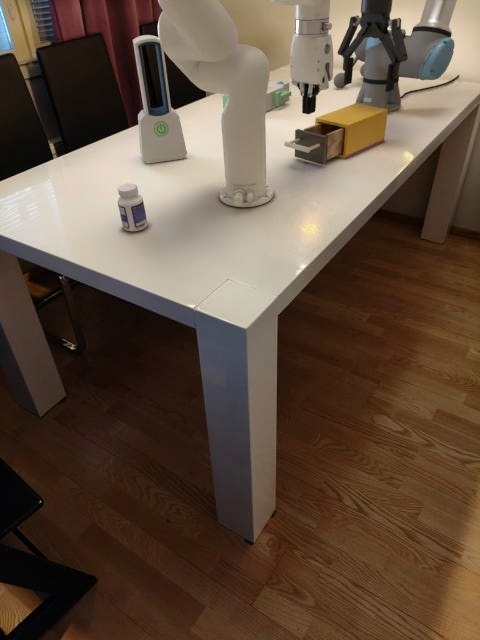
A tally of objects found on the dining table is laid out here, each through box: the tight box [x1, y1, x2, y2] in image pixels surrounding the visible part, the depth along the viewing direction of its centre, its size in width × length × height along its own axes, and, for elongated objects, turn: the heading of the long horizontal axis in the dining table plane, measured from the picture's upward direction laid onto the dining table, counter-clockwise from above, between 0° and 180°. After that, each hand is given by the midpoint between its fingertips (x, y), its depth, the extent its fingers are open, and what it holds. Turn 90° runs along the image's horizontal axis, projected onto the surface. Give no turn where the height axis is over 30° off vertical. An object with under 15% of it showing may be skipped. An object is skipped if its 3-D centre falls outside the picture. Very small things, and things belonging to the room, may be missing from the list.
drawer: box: [283, 122, 345, 166], centre depth 130 cm, size 22×10×7 cm, turn 134°
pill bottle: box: [117, 182, 148, 232], centre depth 102 cm, size 5×5×9 cm
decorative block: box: [221, 80, 292, 113], centre depth 175 cm, size 26×6×20 cm
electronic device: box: [132, 34, 188, 165], centre depth 130 cm, size 12×8×30 cm, turn 105°
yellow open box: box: [314, 102, 388, 160], centre depth 136 cm, size 18×11×9 cm, turn 134°
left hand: (308, 112), depth 121 cm, fingers closed
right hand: (367, 87), depth 134 cm, fingers open, 13 cm apart
